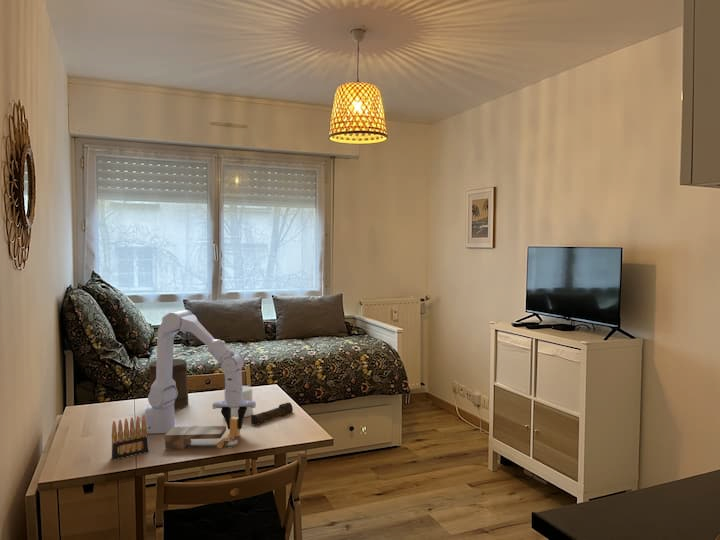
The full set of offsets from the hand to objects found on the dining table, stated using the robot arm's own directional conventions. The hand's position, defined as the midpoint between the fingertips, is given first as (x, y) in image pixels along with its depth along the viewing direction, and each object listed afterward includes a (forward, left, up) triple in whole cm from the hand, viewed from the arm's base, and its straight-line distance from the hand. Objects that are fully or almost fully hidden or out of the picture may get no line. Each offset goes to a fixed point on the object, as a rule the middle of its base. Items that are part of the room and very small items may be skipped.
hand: (235, 428), depth 191 cm
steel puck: (+1, -9, -3) cm, 10 cm away
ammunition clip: (-30, -16, -3) cm, 34 cm away
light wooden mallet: (-1, -5, -2) cm, 6 cm away
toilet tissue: (-4, +24, -3) cm, 25 cm away
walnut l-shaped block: (-11, -9, -2) cm, 14 cm away
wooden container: (-35, +37, -3) cm, 51 cm away
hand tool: (+10, +18, -3) cm, 21 cm away
